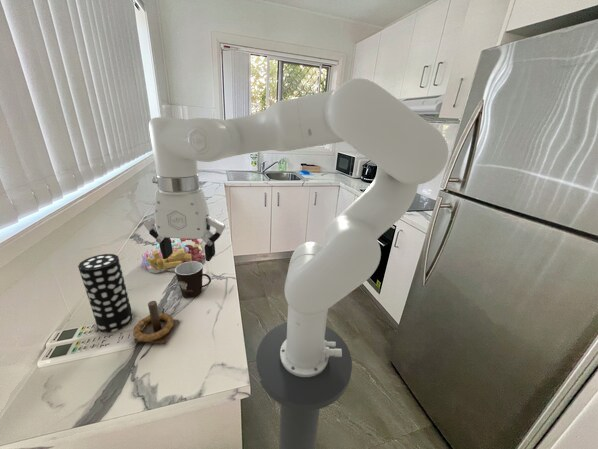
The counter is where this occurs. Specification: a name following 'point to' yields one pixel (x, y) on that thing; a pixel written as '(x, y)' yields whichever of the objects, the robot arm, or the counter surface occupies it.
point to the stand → (156, 325)
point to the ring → (156, 335)
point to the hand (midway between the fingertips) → (189, 257)
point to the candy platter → (173, 256)
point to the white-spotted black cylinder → (106, 291)
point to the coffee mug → (190, 278)
